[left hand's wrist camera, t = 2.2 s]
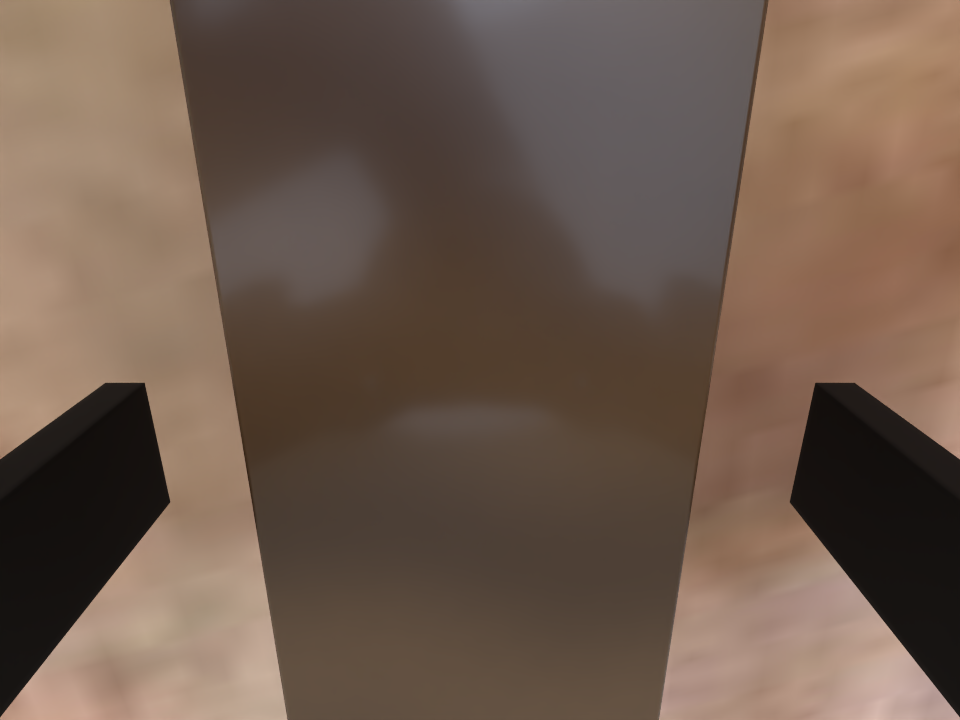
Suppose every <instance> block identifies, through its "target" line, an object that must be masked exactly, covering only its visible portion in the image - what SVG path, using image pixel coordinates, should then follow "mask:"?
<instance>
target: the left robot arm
mask: <svg viewBox="0 0 960 720" xmlns="http://www.w3.org/2000/svg"><path fill="white" fill-rule="evenodd" d="M169 503H170V499H169V494H168V489H167V485H166V480H165V475H164V471H163V466H162V461H161V457H160V452H159V448H158V443H157V438H156V434H155V429H154V424H153V420H152V415H151V410H150V406H149V401H148V396H147V392H146V387H145V383H105V384H103V385H102V386H101V387H99V388H98V389H96V390H95V391H94V392H92V393H91V394H90V395H88V396H87V397H85V398H84V399H83V400H81V401H80V402H79V403H77V404H76V405H74V406H73V407H72V408H70V409H69V410H68V411H66V412H65V413H63V414H62V415H61V416H59V417H58V418H57V419H55V420H54V421H52V422H51V423H50V424H48V425H47V426H46V427H44V428H43V429H41V430H40V431H39V432H37V433H36V434H35V435H33V436H32V437H30V438H29V439H28V440H26V441H25V442H24V443H22V444H21V445H19V446H18V447H17V448H15V449H14V450H13V451H11V452H10V453H8V454H7V455H6V456H4V457H3V458H2V459H0V717H1V715H2V714H3V713H4V712H5V710H6V709H7V708H8V707H9V705H10V704H11V703H12V702H13V700H14V699H15V698H16V697H17V695H18V694H19V693H20V691H21V690H22V689H23V688H24V686H25V685H26V684H27V683H28V681H29V680H30V679H31V678H32V676H33V675H34V674H35V672H36V671H37V670H38V669H39V667H40V666H41V665H42V664H43V662H44V661H45V660H46V659H47V657H48V656H49V655H50V654H51V652H52V651H53V650H54V648H55V647H56V646H57V645H58V643H59V642H60V641H61V640H62V638H63V637H64V636H65V635H66V633H67V632H68V631H69V630H70V628H71V627H72V626H73V624H74V623H75V622H76V621H77V619H78V618H79V617H80V616H81V614H82V613H83V612H84V611H85V609H86V608H87V607H88V605H89V604H90V603H91V602H92V600H93V599H94V598H95V597H96V595H97V594H98V593H99V592H100V590H101V589H102V588H103V587H104V585H105V584H106V583H107V581H108V580H109V579H110V578H111V576H112V575H113V574H114V573H115V571H116V570H117V569H118V568H119V566H120V565H121V564H122V563H123V561H124V560H125V559H126V557H127V556H128V555H129V554H130V552H131V551H132V550H133V549H134V547H135V546H136V545H137V544H138V542H139V541H140V540H141V538H142V537H143V536H144V535H145V533H146V532H147V531H148V530H149V528H150V527H151V526H152V525H153V523H154V522H155V521H156V520H157V518H158V517H159V516H160V514H161V513H162V512H163V511H164V509H165V508H166V507H167V506H168V504H169ZM790 503H791V504H792V506H793V507H794V508H795V509H796V511H797V512H798V513H799V514H800V516H801V517H802V518H803V520H804V521H805V522H806V523H807V525H808V526H809V527H810V528H811V530H812V531H813V532H814V533H815V535H816V536H817V537H818V538H819V540H820V541H821V542H822V544H823V545H824V546H825V547H826V549H827V550H828V551H829V552H830V554H831V555H832V556H833V557H834V559H835V560H836V561H837V563H838V564H839V565H840V566H841V568H842V569H843V570H844V571H845V573H846V574H847V575H848V576H849V578H850V579H851V580H852V581H853V583H854V584H855V585H856V587H857V588H858V589H859V590H860V592H861V593H862V594H863V595H864V597H865V598H866V599H867V600H868V602H869V603H870V604H871V605H872V607H873V608H874V609H875V611H876V612H877V613H878V614H879V616H880V617H881V618H882V619H883V621H884V622H885V623H886V624H887V626H888V627H889V628H890V630H891V631H892V632H893V633H894V635H895V636H896V637H897V638H898V640H899V641H900V642H901V643H902V645H903V646H904V647H905V648H906V650H907V651H908V652H909V654H910V655H911V656H912V657H913V659H914V660H915V661H916V662H917V664H918V665H919V666H920V667H921V669H922V670H923V671H924V672H925V674H926V675H927V676H928V678H929V679H930V680H931V681H932V683H933V684H934V685H935V686H936V688H937V689H938V690H939V691H940V693H941V694H942V695H943V697H944V698H945V699H946V700H947V702H948V703H949V704H950V705H951V707H952V708H953V709H954V710H955V712H956V713H957V714H958V715H959V717H960V459H958V458H957V457H956V456H954V455H953V454H952V453H950V452H949V451H947V450H946V449H945V448H943V447H942V446H941V445H939V444H938V443H936V442H935V441H934V440H932V439H931V438H930V437H928V436H927V435H925V434H924V433H923V432H921V431H920V430H919V429H917V428H916V427H914V426H913V425H912V424H910V423H909V422H908V421H906V420H905V419H903V418H902V417H901V416H899V415H898V414H897V413H895V412H894V411H892V410H891V409H890V408H888V407H887V406H886V405H884V404H883V403H881V402H880V401H879V400H877V399H876V398H875V397H873V396H872V395H870V394H869V393H868V392H866V391H865V390H864V389H862V388H861V387H859V386H858V385H857V384H855V383H815V387H814V392H813V396H812V401H811V406H810V410H809V415H808V420H807V424H806V429H805V434H804V438H803V443H802V448H801V452H800V457H799V461H798V466H797V471H796V475H795V480H794V485H793V489H792V494H791V499H790Z"/></svg>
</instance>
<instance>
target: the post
mask: <svg viewBox="0 0 960 720" xmlns="http://www.w3.org/2000/svg"><path fill="white" fill-rule="evenodd" d="M170 4H171V10H172V17H173V23H174V29H175V35H176V41H177V47H178V53H179V59H180V65H181V71H182V78H183V84H184V90H185V96H186V102H187V108H188V114H189V120H190V126H191V133H192V139H193V145H194V151H195V157H196V163H197V169H198V175H199V181H200V187H201V194H202V200H203V206H204V212H205V218H206V224H207V230H208V236H209V242H210V248H211V255H212V261H213V267H214V273H215V279H216V285H217V291H218V297H219V303H220V310H221V316H222V322H223V328H224V334H225V340H226V346H227V352H228V358H229V364H230V371H231V377H232V383H233V389H234V395H235V401H236V407H237V413H238V419H239V425H240V432H241V438H242V444H243V450H244V456H245V462H246V468H247V474H248V480H249V487H250V493H251V499H252V505H253V511H254V517H255V523H256V529H257V535H258V541H259V548H260V554H261V560H262V566H263V572H264V578H265V584H266V590H267V596H268V602H269V609H270V615H271V621H272V627H273V633H274V639H275V645H276V651H277V657H278V664H279V670H280V676H281V682H282V688H283V694H284V700H285V706H286V712H287V718H288V720H659V715H660V709H661V702H662V695H663V689H664V682H665V676H666V669H667V663H668V656H669V649H670V643H671V636H672V630H673V623H674V617H675V610H676V604H677V597H678V590H679V584H680V577H681V571H682V564H683V558H684V551H685V544H686V538H687V531H688V525H689V518H690V512H691V505H692V499H693V492H694V485H695V479H696V472H697V466H698V459H699V453H700V446H701V439H702V433H703V426H704V420H705V413H706V407H707V400H708V393H709V387H710V380H711V374H712V367H713V361H714V354H715V348H716V341H717V334H718V328H719V321H720V315H721V308H722V302H723V295H724V288H725V282H726V275H727V269H728V262H729V256H730V249H731V243H732V236H733V229H734V223H735V216H736V210H737V203H738V197H739V190H740V183H741V177H742V170H743V164H744V157H745V151H746V144H747V137H748V131H749V124H750V118H751V111H752V105H753V98H754V92H755V85H756V78H757V72H758V65H759V59H760V52H761V46H762V39H763V32H764V26H765V19H766V13H767V6H768V0H170Z"/></svg>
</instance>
